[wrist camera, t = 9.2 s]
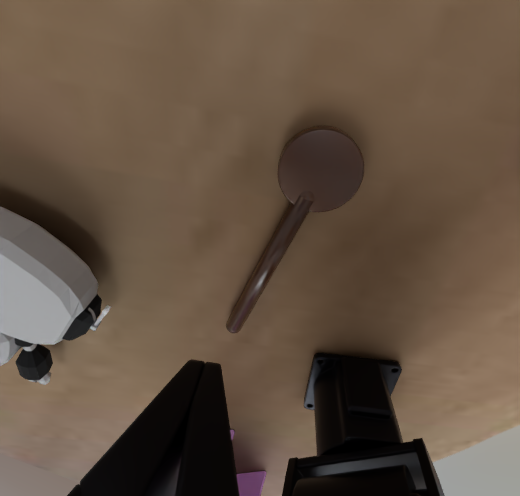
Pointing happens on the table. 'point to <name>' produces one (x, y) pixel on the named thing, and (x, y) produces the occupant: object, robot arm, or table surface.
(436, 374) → the table surface
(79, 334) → the robot toy
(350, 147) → the spoon
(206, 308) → the table surface
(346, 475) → the robot arm
